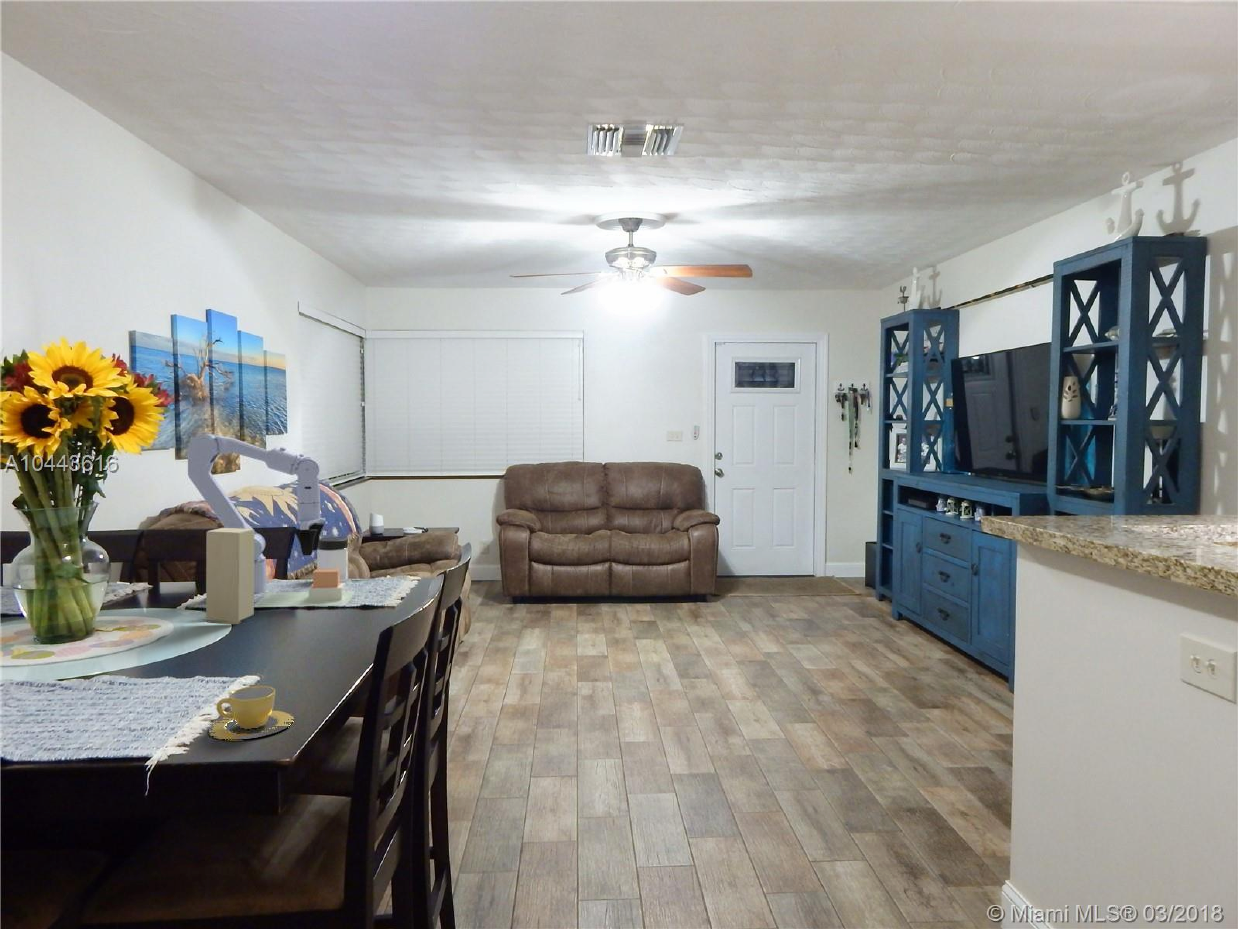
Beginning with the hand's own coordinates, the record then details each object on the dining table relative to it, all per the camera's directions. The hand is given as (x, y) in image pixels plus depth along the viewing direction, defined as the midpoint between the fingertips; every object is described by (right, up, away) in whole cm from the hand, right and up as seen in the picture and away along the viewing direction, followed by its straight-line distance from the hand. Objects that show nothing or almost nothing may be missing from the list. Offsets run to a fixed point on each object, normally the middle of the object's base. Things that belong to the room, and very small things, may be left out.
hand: (310, 552), depth 216 cm
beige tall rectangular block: (-6, -12, -31) cm, 34 cm away
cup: (+27, -17, -93) cm, 98 cm away
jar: (+1, -10, +15) cm, 18 cm away
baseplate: (+4, -11, -12) cm, 17 cm away
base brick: (+8, -10, -10) cm, 17 cm away
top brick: (+8, -7, -10) cm, 15 cm away
